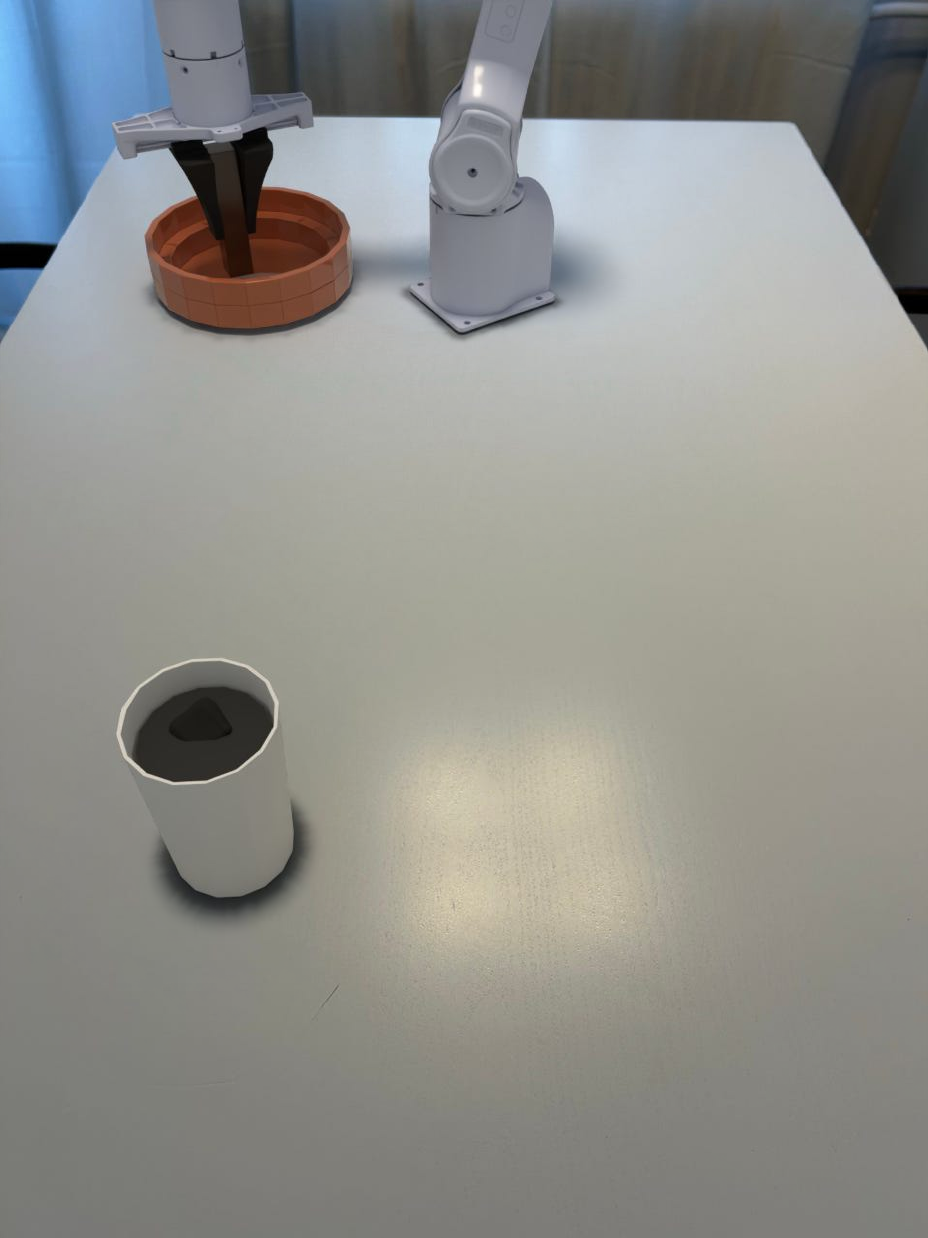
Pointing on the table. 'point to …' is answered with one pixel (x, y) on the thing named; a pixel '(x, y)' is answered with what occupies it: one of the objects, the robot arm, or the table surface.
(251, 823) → the white cup
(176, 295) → the bowl
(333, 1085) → the table surface
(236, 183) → the stick
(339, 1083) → the table surface
